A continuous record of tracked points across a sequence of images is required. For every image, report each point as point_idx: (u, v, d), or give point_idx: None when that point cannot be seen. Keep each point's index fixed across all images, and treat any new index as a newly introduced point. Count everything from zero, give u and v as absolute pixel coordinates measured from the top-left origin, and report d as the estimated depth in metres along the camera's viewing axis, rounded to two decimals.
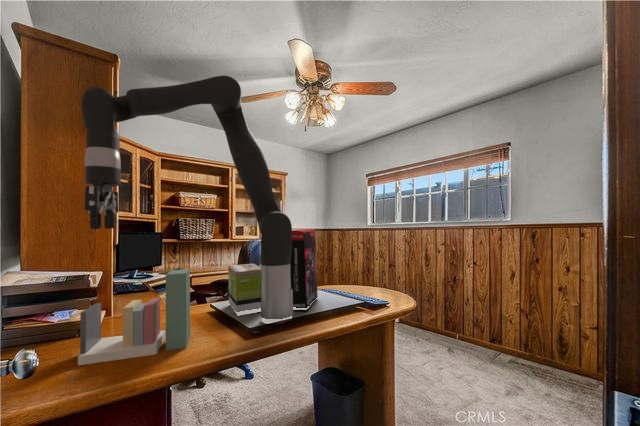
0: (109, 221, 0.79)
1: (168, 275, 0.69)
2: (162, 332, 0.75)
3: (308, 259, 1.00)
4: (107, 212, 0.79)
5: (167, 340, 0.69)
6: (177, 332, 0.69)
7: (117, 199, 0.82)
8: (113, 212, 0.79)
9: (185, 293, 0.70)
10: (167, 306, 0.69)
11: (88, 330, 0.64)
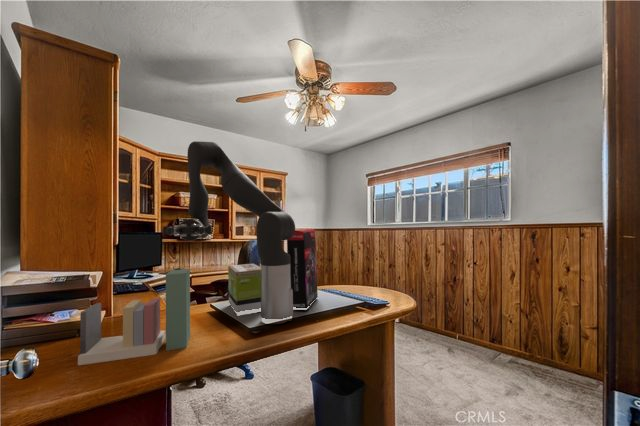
0: None
1: (168, 275, 0.69)
2: (162, 332, 0.75)
3: (308, 259, 1.00)
4: None
5: (167, 340, 0.69)
6: (177, 332, 0.69)
7: None
8: (201, 227, 0.92)
9: (185, 293, 0.70)
10: (167, 306, 0.69)
11: (88, 330, 0.64)
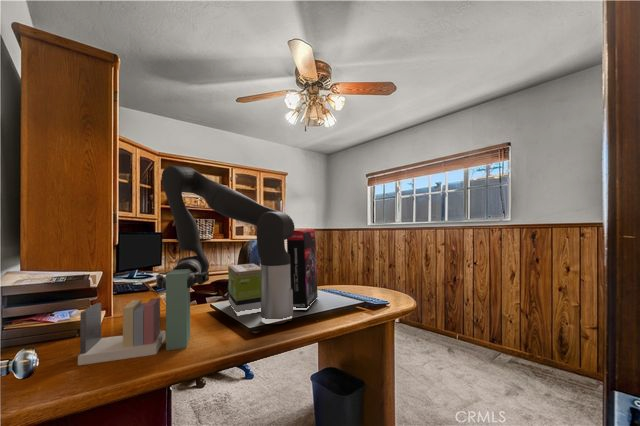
0: None
1: (168, 275, 0.69)
2: (162, 332, 0.75)
3: (308, 259, 1.00)
4: None
5: (168, 340, 0.69)
6: (177, 332, 0.69)
7: (204, 272, 0.81)
8: (190, 276, 0.76)
9: (185, 293, 0.70)
10: (167, 306, 0.69)
11: (88, 330, 0.64)
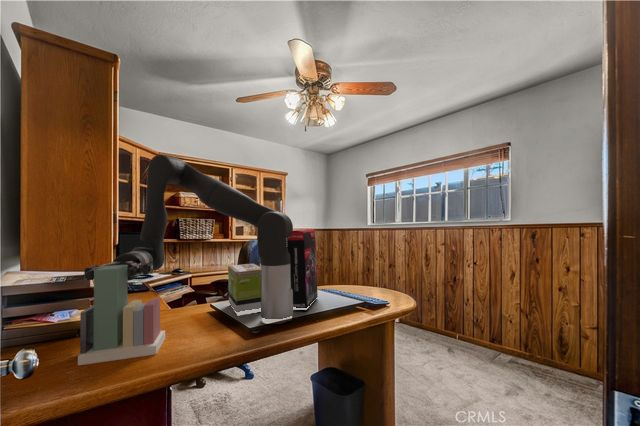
0: None
1: (97, 271, 0.65)
2: (162, 332, 0.75)
3: (308, 259, 1.00)
4: None
5: (95, 340, 0.65)
6: (107, 331, 0.65)
7: (149, 263, 0.77)
8: (134, 266, 0.73)
9: (116, 290, 0.66)
10: (95, 304, 0.65)
11: (88, 330, 0.64)
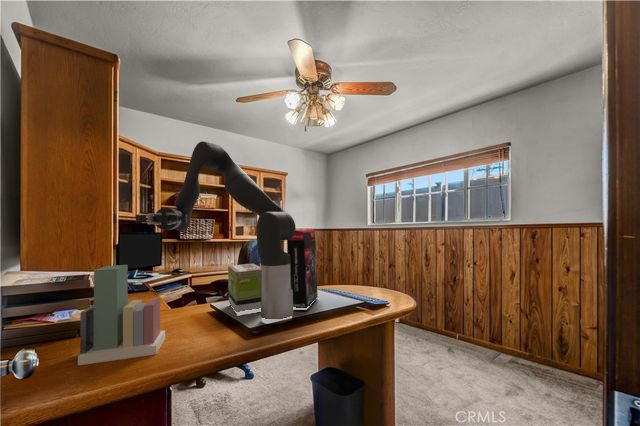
0: None
1: (97, 271, 0.65)
2: (162, 332, 0.75)
3: (308, 259, 1.00)
4: None
5: (96, 340, 0.65)
6: (107, 331, 0.65)
7: None
8: (175, 215, 0.92)
9: (116, 290, 0.66)
10: (95, 304, 0.65)
11: (88, 330, 0.64)
